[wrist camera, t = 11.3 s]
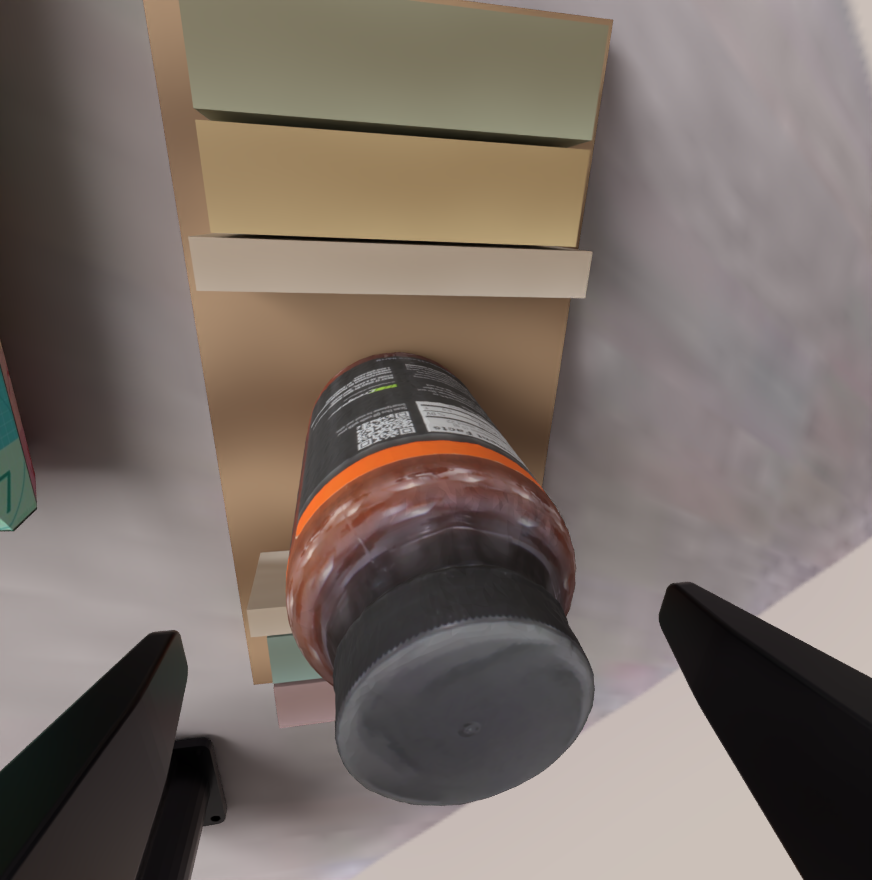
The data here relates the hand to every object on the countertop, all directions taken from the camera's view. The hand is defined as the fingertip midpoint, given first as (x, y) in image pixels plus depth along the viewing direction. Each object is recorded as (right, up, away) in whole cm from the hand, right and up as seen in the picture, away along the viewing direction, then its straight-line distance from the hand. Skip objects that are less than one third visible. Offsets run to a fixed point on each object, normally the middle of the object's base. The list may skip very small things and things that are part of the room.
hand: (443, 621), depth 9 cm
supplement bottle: (-2, +4, +9) cm, 10 cm away
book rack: (-2, +4, +10) cm, 11 cm away
